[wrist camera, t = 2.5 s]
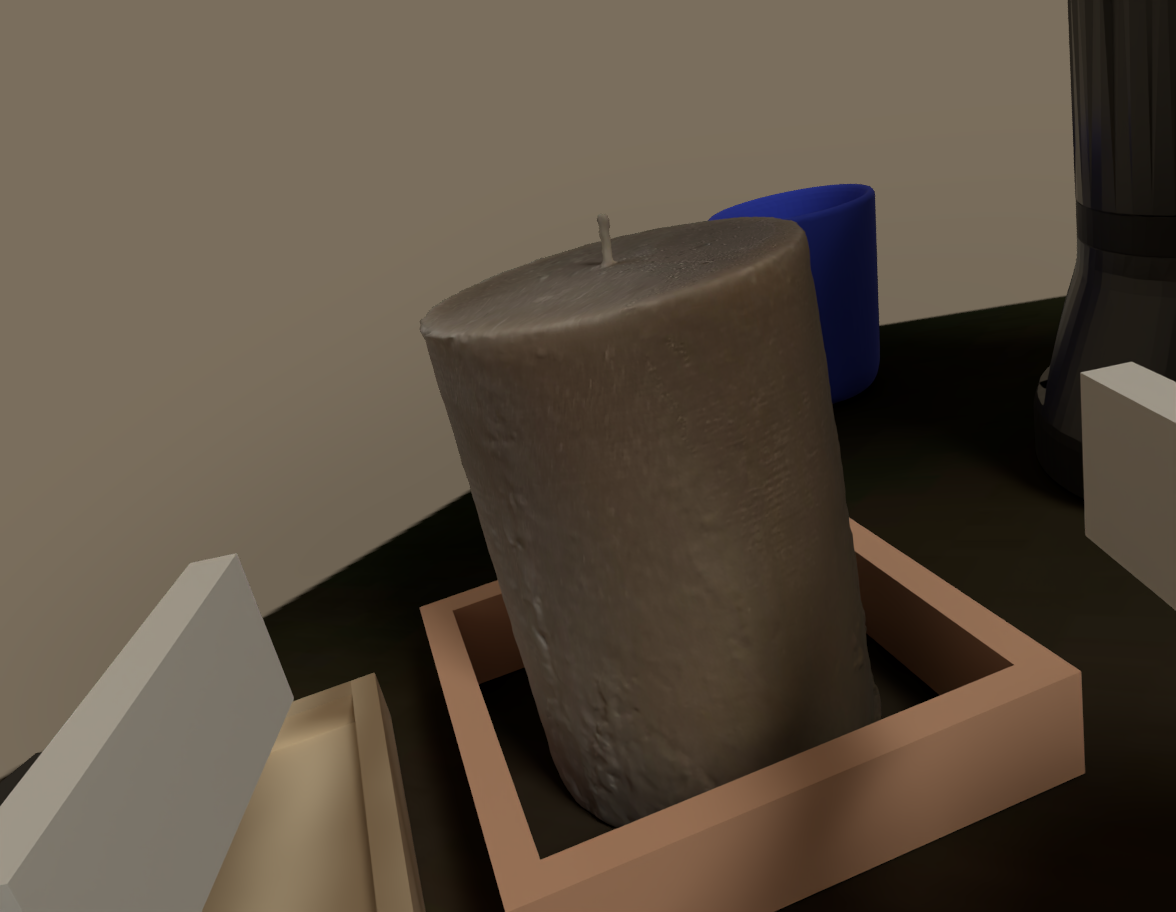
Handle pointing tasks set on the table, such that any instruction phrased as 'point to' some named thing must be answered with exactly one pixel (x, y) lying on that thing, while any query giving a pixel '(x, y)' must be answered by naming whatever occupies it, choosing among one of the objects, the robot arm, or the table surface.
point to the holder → (791, 762)
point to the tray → (326, 816)
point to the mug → (836, 273)
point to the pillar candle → (663, 504)
